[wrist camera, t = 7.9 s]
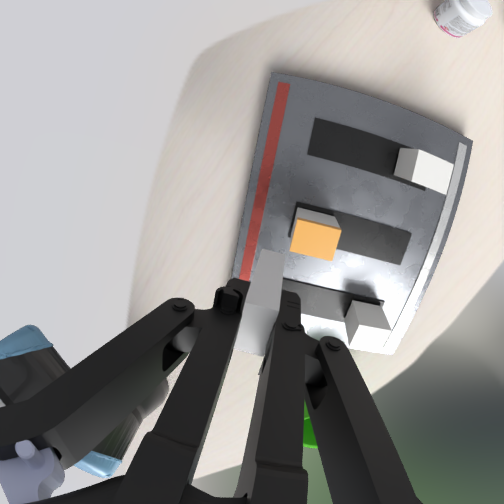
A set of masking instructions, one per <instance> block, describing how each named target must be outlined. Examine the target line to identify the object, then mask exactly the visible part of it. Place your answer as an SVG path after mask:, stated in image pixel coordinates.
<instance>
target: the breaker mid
mask: <svg viewBox="0 0 504 504" xmlns="http://www.w3.org/2000/svg"><path fill="white" fill-rule="evenodd" d="M341 231H342V230H341V228H340V226H339V224H338V222H337V220H336V218H335V217H334V216H331V215H327V214H323V213H319V212H315V211H311V210H307V209H303V208H299V207H298V208H297V212H296V216H295V220H294V224H293V228H292V232H291V240H290V251H291V252H295V253H299V254H303V255H308V256H312V257H316V258H320V259H324V260H328V261H332V260H333V257H334V254H335V251H336V247H337V244H338V241H339V238H340V234H341Z"/></svg>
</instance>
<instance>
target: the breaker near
mask: <svg viewBox="0 0 504 504" xmlns="http://www.w3.org/2000/svg"><path fill="white" fill-rule="evenodd" d="M453 166H454V164H451V163H449V162H447V161H445V160H443V159H441V158H438V157H436V156H434V155H431V154H429V153H427V152H424V151H422V150H420V149H408V148H400V151H399V155H398V160H397V164H396V168H395V172H394V175H395V176H398V177H401V178H404V179H406V180H409V181H412V182H414V183H417V184H420V185H422V186H425V187H427V188H430V189H433V190H435V191H438V192H440V193H442V194H445V195H446V194H447V190H448V186H449V182H450V178H451V174H452V170H453Z"/></svg>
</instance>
